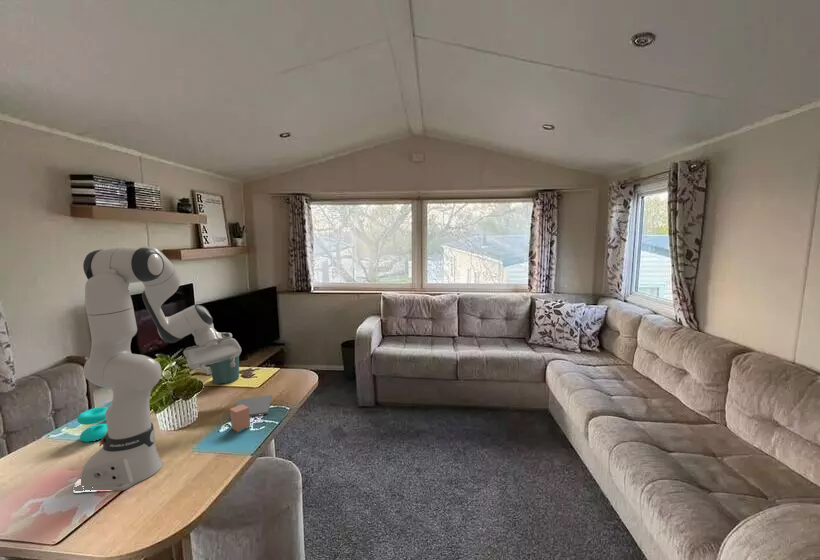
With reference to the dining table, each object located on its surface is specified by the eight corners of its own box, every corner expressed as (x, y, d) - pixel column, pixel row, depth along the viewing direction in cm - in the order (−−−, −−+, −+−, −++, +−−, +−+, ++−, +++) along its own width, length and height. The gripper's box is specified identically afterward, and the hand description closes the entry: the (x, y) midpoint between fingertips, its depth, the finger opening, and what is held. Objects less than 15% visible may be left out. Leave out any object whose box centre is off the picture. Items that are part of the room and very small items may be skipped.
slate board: (231, 419, 156) (231, 417, 156) (238, 401, 172) (238, 399, 172) (267, 414, 159) (267, 411, 159) (271, 397, 176) (271, 395, 175)
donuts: (75, 420, 137) (78, 410, 145) (79, 447, 139) (81, 435, 147) (110, 412, 143) (111, 403, 151) (114, 437, 145) (114, 427, 153)
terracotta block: (237, 432, 145) (235, 412, 144) (231, 428, 149) (229, 408, 148) (250, 427, 149) (248, 407, 148) (244, 423, 152) (242, 404, 151)
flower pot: (205, 388, 188) (202, 356, 186) (210, 376, 204) (207, 347, 202) (241, 383, 194) (239, 352, 192) (244, 372, 209) (241, 343, 207)
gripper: (182, 344, 150) (196, 374, 145) (234, 332, 165) (248, 358, 160) (180, 353, 153) (192, 382, 148) (231, 340, 169) (244, 366, 164)
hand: (222, 370), depth 154 cm, fingers open, 8 cm apart
